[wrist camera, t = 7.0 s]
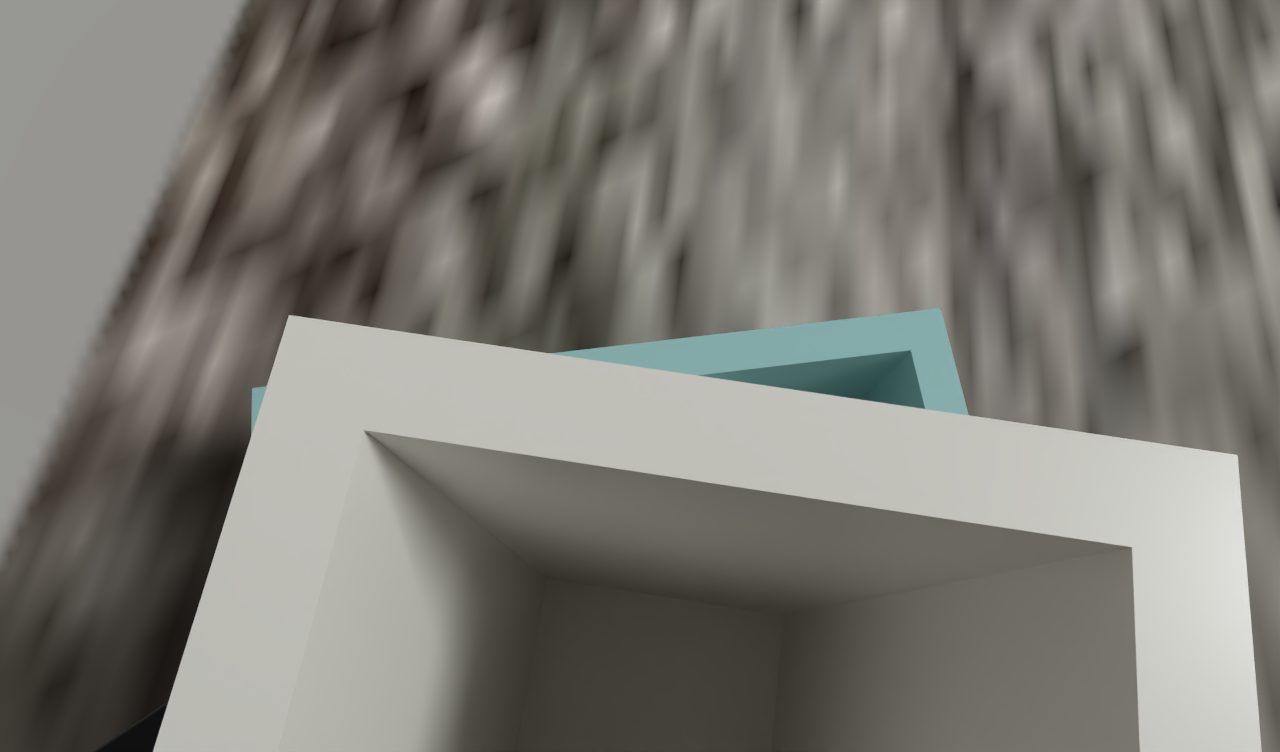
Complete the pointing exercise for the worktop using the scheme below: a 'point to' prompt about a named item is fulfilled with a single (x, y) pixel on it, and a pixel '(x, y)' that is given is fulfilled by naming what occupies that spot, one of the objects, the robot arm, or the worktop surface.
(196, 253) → the worktop surface
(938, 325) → the crate
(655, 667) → the white hollow square box
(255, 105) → the worktop surface
